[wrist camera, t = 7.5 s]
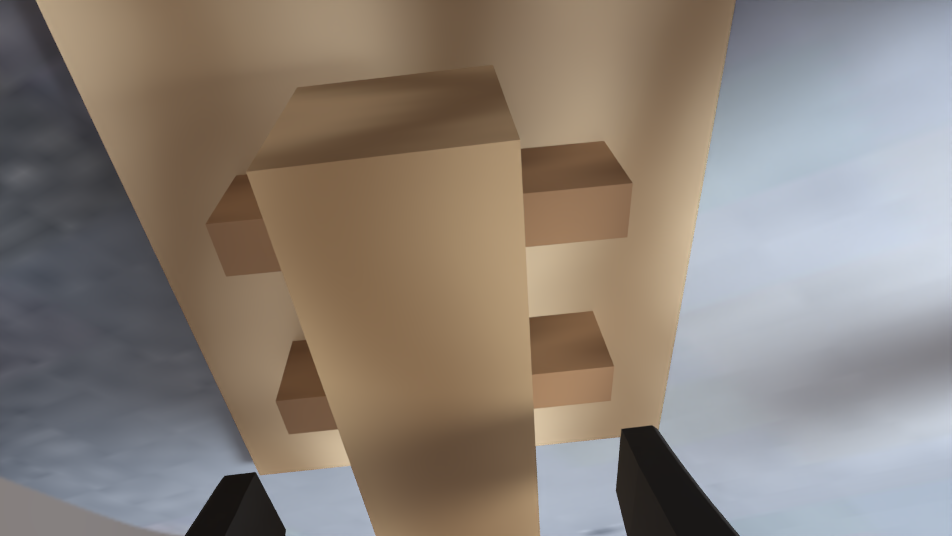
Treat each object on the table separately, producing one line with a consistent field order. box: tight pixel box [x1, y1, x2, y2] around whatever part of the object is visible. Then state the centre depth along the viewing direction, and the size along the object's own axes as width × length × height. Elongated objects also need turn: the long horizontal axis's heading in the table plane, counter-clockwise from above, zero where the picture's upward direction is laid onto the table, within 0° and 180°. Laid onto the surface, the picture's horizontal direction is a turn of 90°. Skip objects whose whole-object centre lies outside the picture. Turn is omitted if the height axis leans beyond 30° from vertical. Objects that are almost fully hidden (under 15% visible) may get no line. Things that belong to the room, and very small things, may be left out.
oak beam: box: [246, 65, 540, 536], centre depth 13 cm, size 4×12×4 cm, turn 6°
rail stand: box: [36, 0, 736, 475], centre depth 17 cm, size 16×18×3 cm
